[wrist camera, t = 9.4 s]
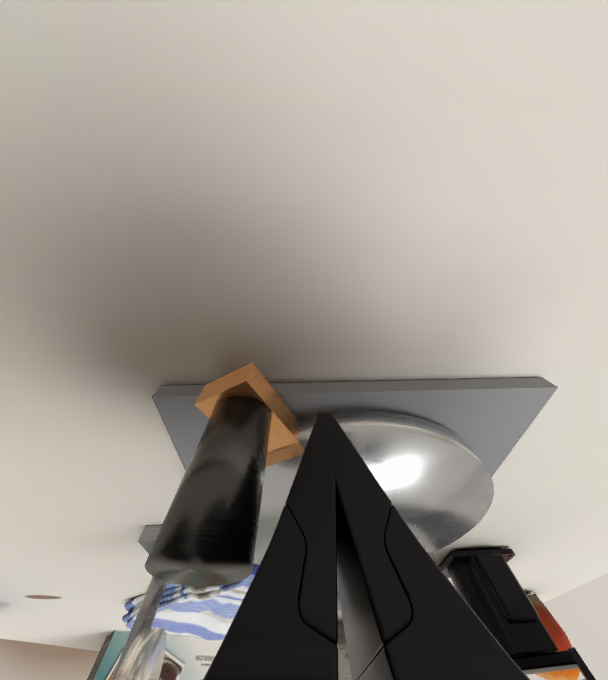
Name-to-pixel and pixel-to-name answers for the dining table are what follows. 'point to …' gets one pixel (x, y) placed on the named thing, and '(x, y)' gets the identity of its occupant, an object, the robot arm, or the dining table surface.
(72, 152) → the dining table surface
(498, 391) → the plinth
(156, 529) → the stand
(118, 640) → the cake mix box
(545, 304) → the dining table surface
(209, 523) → the turntable
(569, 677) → the fruit
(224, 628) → the dish towel
